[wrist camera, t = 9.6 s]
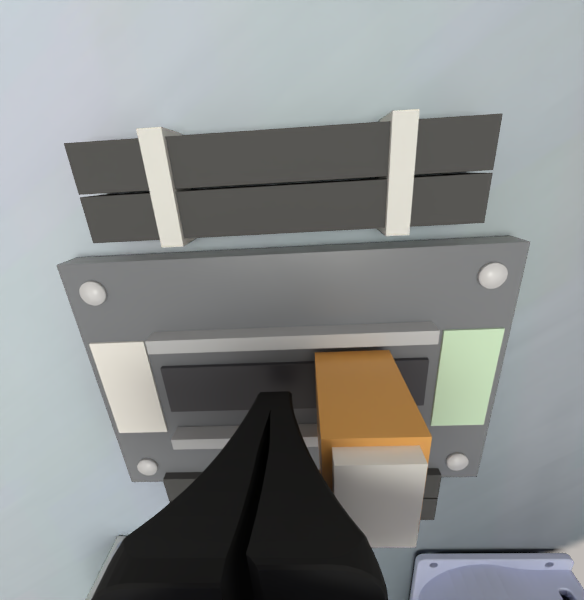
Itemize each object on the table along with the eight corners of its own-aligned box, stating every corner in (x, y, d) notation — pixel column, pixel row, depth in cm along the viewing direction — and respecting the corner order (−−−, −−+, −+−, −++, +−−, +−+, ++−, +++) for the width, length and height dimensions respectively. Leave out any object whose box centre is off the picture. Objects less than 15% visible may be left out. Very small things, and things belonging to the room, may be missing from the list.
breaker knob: (389, 349, 13) (441, 455, 8) (383, 426, 14) (425, 554, 9) (314, 352, 13) (322, 457, 8) (317, 428, 14) (325, 554, 10)
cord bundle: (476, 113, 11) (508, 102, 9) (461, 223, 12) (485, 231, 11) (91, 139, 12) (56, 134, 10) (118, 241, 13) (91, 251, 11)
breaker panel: (510, 235, 13) (545, 246, 11) (465, 456, 17) (485, 491, 15) (76, 257, 13) (41, 271, 12) (142, 462, 18) (124, 496, 16)
